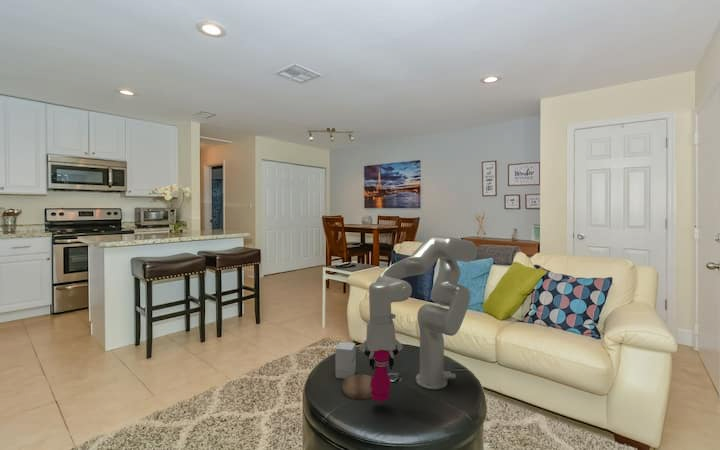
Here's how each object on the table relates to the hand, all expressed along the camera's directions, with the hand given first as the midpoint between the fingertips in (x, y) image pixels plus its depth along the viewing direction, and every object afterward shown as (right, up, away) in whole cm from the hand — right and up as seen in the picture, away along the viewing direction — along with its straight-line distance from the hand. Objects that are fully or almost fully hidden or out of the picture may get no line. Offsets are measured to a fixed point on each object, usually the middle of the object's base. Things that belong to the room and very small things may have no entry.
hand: (381, 367), depth 126 cm
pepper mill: (0, -11, +1) cm, 11 cm away
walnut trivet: (-8, -14, +14) cm, 21 cm away
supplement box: (-14, -13, +26) cm, 32 cm away
